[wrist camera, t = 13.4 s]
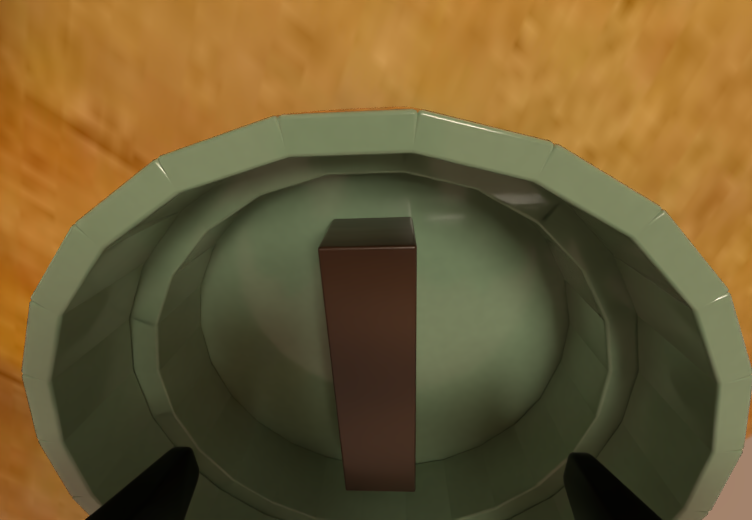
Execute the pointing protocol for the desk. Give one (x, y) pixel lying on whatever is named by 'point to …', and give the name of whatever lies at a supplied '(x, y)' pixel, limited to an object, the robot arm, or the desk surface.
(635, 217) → the bowl
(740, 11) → the desk surface
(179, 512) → the robot arm
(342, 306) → the dark brown rectangular block
